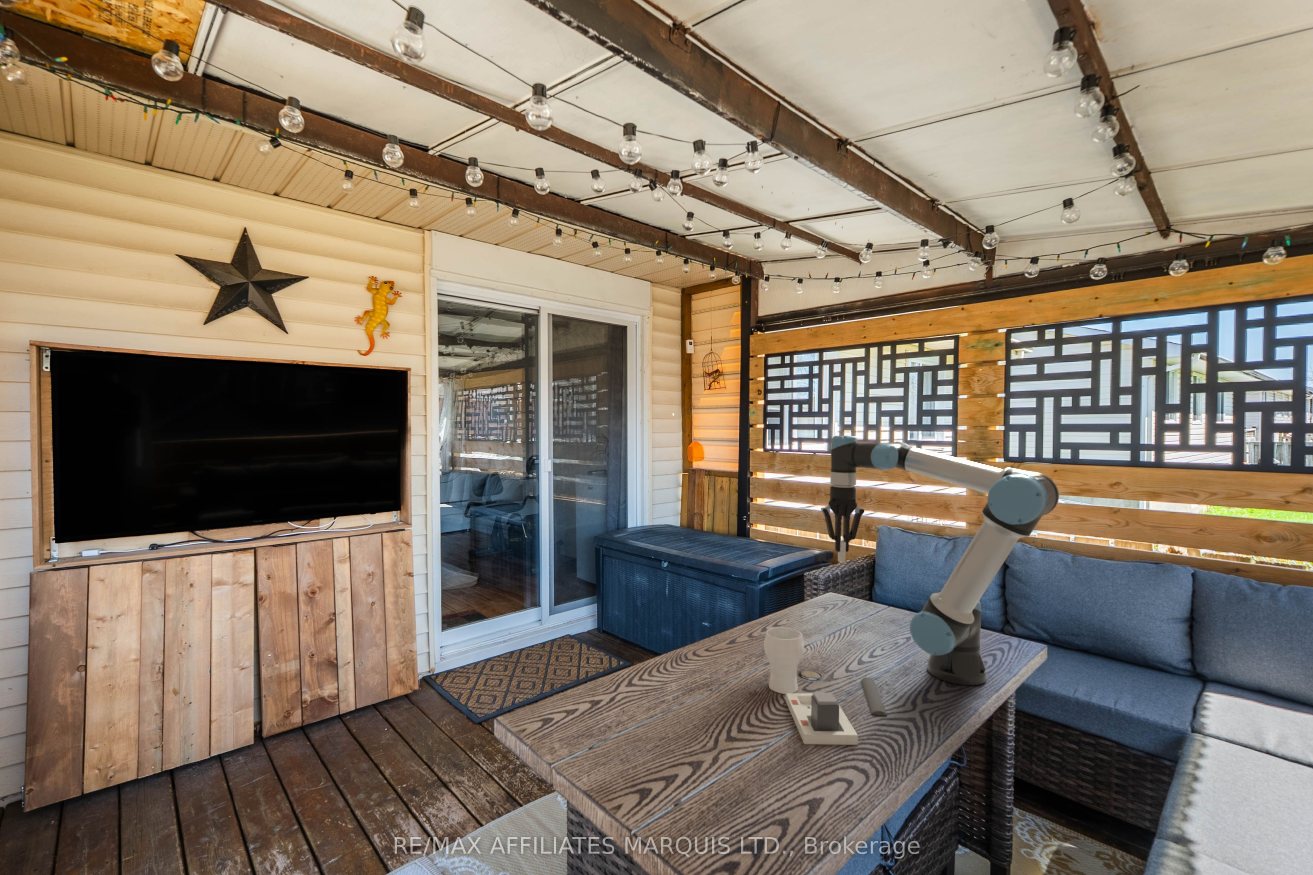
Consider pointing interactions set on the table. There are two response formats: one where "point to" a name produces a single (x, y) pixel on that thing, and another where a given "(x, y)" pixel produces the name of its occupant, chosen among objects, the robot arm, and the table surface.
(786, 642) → the cup
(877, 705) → the gray half cylinder
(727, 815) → the table surface
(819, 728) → the plug
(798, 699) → the socket plate
